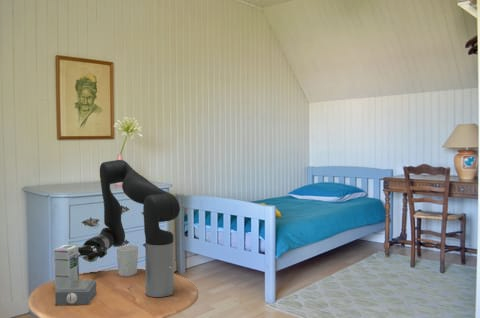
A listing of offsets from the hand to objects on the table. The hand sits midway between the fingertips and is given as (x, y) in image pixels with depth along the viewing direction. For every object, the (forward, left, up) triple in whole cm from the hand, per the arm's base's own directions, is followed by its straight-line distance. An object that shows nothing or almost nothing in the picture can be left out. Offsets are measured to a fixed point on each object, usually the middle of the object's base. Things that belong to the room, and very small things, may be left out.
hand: (77, 257), depth 159 cm
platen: (-4, +18, -4) cm, 19 cm away
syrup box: (+2, +8, -9) cm, 12 cm away
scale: (-4, +18, -9) cm, 20 cm away
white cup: (-16, -7, -9) cm, 20 cm away
